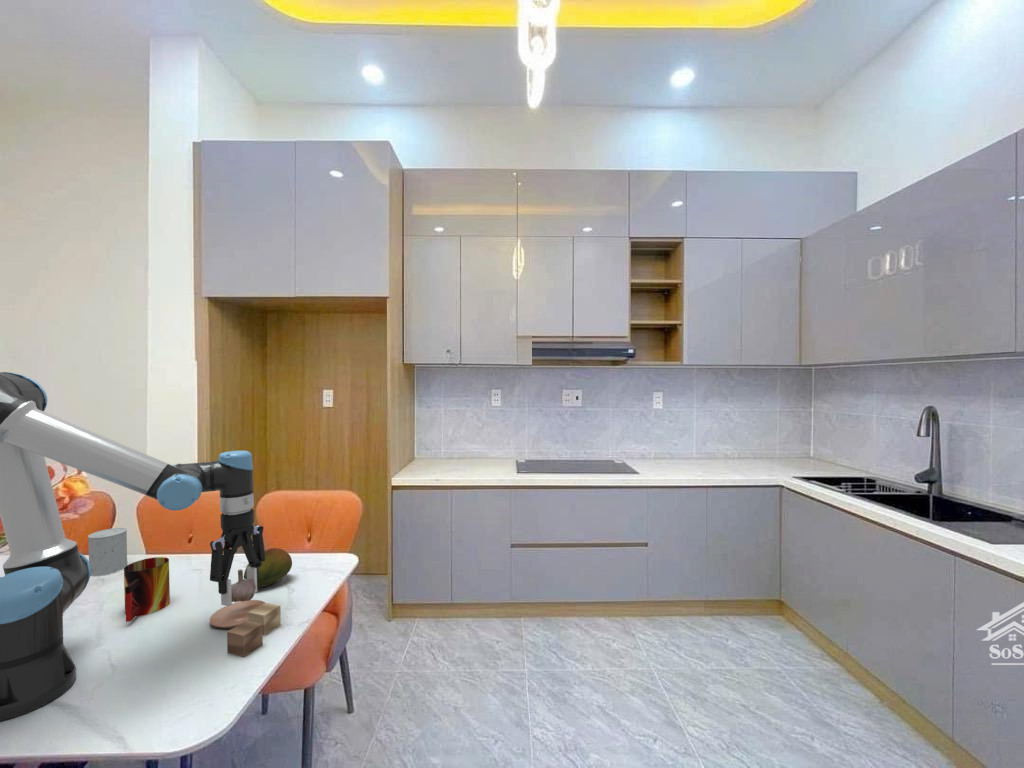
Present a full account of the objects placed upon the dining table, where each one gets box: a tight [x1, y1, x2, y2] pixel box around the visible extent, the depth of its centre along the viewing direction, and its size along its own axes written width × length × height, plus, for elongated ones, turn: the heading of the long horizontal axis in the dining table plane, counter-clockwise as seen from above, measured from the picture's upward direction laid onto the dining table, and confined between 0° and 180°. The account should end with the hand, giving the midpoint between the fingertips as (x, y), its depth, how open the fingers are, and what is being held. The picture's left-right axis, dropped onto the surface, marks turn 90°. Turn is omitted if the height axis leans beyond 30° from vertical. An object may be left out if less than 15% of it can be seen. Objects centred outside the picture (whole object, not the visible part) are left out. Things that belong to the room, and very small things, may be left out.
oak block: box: [248, 602, 282, 636], centre depth 114 cm, size 5×5×5 cm
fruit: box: [243, 547, 293, 588], centre depth 138 cm, size 12×13×10 cm
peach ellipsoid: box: [209, 599, 266, 629], centre depth 119 cm, size 13×13×1 cm
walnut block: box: [226, 620, 264, 658], centre depth 105 cm, size 5×5×5 cm
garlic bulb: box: [231, 569, 256, 603], centre depth 119 cm, size 8×7×8 cm
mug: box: [123, 556, 171, 623], centre depth 123 cm, size 10×14×12 cm
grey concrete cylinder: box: [87, 527, 128, 577], centre depth 150 cm, size 10×10×12 cm
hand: (239, 597), depth 119 cm, fingers closed on garlic bulb, 7 cm apart
